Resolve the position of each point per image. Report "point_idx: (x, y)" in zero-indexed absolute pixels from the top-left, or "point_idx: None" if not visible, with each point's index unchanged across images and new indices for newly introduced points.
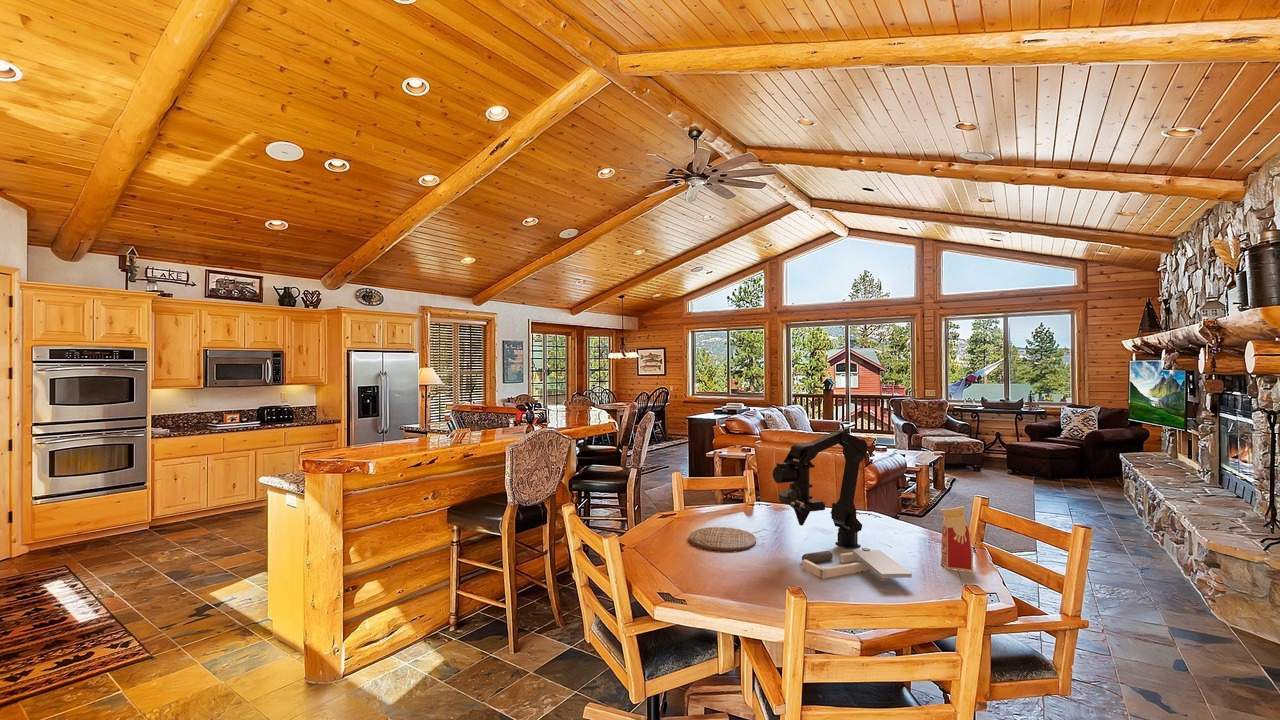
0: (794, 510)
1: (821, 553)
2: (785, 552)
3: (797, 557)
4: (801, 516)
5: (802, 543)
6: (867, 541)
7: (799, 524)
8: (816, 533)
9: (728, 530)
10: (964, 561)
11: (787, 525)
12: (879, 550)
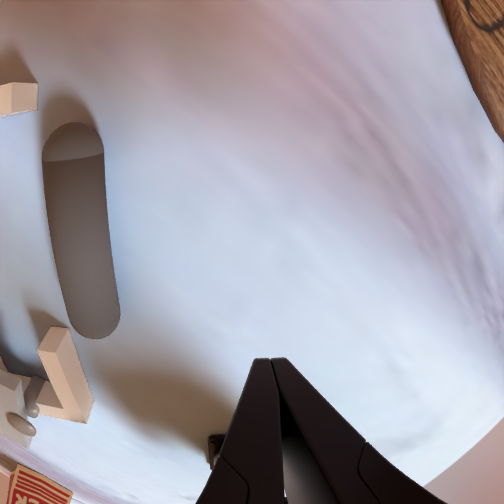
0: (431, 493)
1: (61, 271)
2: (312, 155)
3: (194, 163)
4: (215, 471)
5: (369, 337)
6: None
7: (279, 359)
8: (402, 424)
9: None
10: (10, 485)
11: (499, 376)
12: (20, 443)
